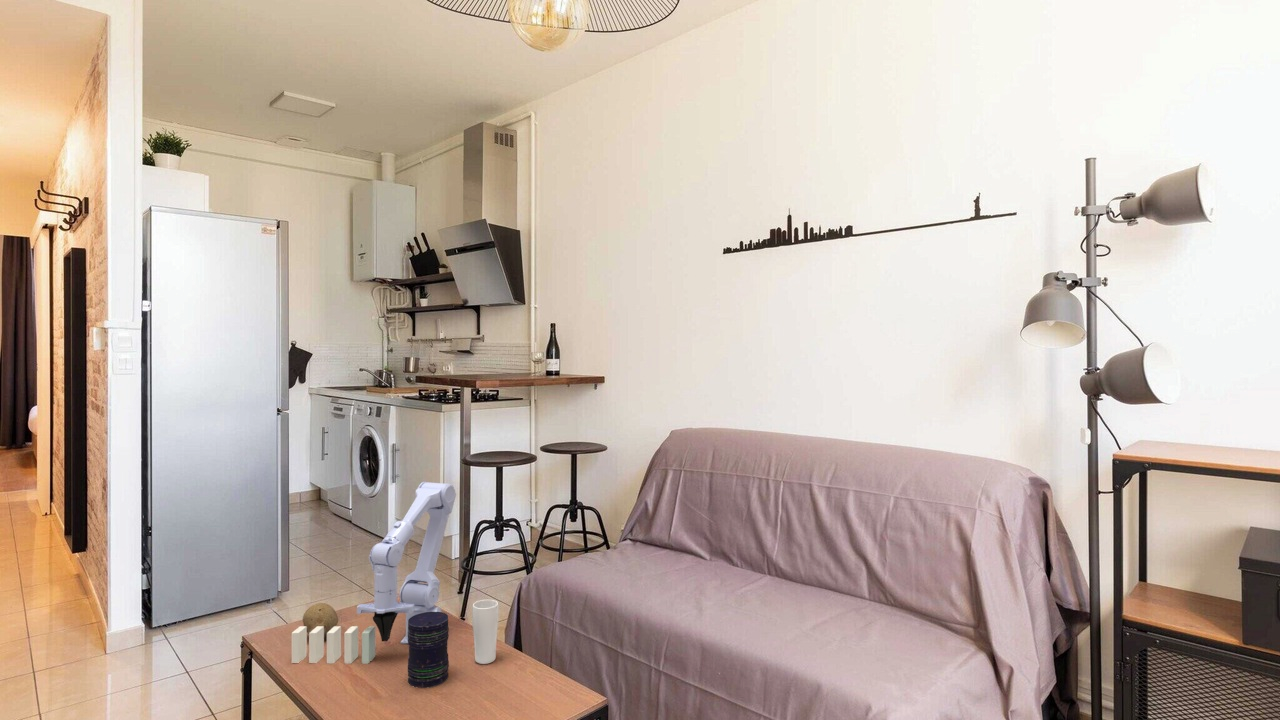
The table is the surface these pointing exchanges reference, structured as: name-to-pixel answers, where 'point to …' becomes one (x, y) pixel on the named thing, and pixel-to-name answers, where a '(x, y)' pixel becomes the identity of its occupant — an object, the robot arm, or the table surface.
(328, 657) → the domino
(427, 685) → the dark blue cylinder
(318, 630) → the domino
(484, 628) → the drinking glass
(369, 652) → the domino
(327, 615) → the natural sponge
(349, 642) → the domino
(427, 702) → the table surface
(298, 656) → the domino
